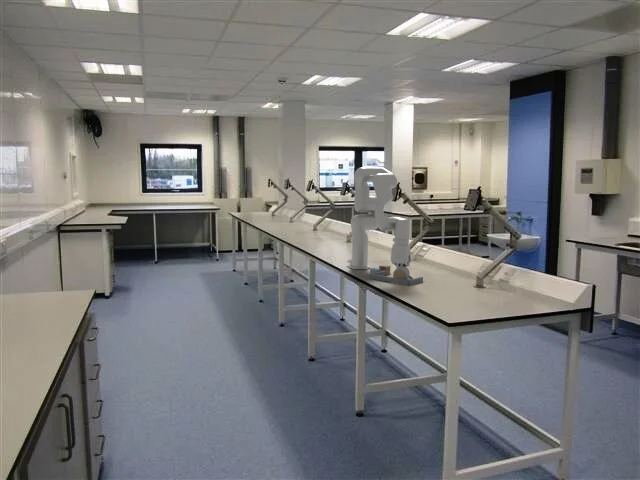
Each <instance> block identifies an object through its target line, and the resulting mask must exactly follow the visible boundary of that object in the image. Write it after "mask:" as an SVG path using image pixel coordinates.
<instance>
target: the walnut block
mask: <svg viewBox="0 0 640 480" xmlns="http://www.w3.org/2000/svg"><path fill="white" fill-rule="evenodd" d="M378 268H379V269H380V272H381V271H386V275H390V274H391V265H388V264H382V265H379V266H378Z"/></svg>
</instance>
